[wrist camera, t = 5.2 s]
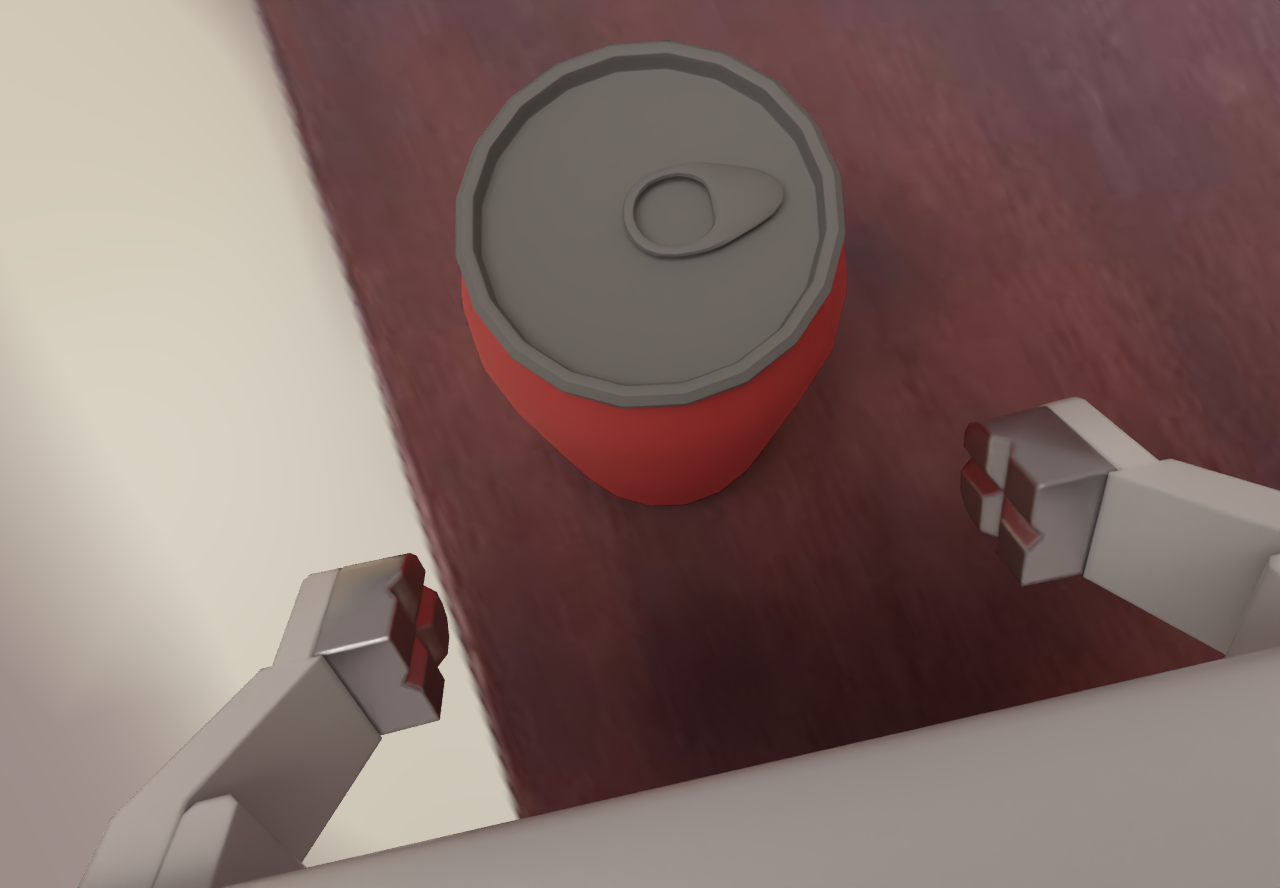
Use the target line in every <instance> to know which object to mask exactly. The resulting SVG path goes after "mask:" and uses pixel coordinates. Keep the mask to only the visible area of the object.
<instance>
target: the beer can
mask: <svg viewBox="0 0 1280 888" xmlns="http://www.w3.org/2000/svg"><path fill="white" fill-rule="evenodd" d="M845 234H846V233H845V222H844V211H843V199H842V188H841V176H840V173H839V171H838V169H837V167H836V165H835V162H834V160H833V158H832V156H831V154H830V151H829V149H828V147H827V145H826V143H825V140H824V138H823V136H822V134H821V131H820V129H819V127H818V125H817V123H816V122H815V121H814V120H813V119H812V118H811V116H810V115H809V114H808V113H807V112H806V111H805V110H804V109H803V108H802V107H801V106H800V105H799V104H798V103H797V101H796V100H795V99H794V98H793V97H792V96H791V95H790V94H789V93H788V92H787V91H786V90H785V89H784V87H783V86H782V85H781V84H780V83H779V82H778V81H777V80H775V79H773V78H771V77H769V76H768V75H766V74H764V73H762V72H760V71H759V70H757V69H755V68H753V67H752V66H750V65H748V64H746V63H744V62H743V61H741V60H739V59H737V58H735V57H734V56H732V55H730V54H728V53H726V52H721V51H717V50H712V49H708V48H703V47H699V46H694V45H689V44H685V43H680V42H676V41H671V40H664V41H650V42H636V43H621V44H610V45H607V46H605V47H602V48H599V49H596V50H594V51H591V52H588V53H585V54H583V55H580V56H577V57H574V58H572V59H569V60H566V61H564V62H561V63H558V64H555V65H554V66H553V67H551V68H550V69H549V70H547V71H546V72H545V73H543V74H542V75H541V76H539V77H538V78H536V79H535V80H534V81H532V82H531V83H530V84H528V85H527V86H526V87H524V88H523V89H522V90H520V91H519V92H518V93H516V94H515V95H513V96H512V97H511V98H509V99H508V101H507V102H506V103H505V105H504V106H503V107H502V109H501V110H500V111H499V113H498V114H497V115H496V117H495V118H494V119H493V121H492V122H491V123H490V125H489V126H488V128H487V129H486V130H485V132H484V133H483V134H482V136H481V137H480V138H479V140H478V141H477V142H476V144H475V145H474V148H473V151H472V154H471V157H470V160H469V162H468V165H467V168H466V171H465V174H464V177H463V180H462V183H461V186H460V189H459V192H458V195H457V197H456V258H457V261H458V264H459V267H460V270H461V273H462V301H463V306H464V311H465V315H466V318H467V321H468V324H469V327H470V330H471V333H472V335H473V338H474V341H475V344H476V347H477V350H478V353H479V356H480V359H481V362H482V365H483V368H484V369H485V371H486V372H487V373H488V375H489V376H490V377H491V379H492V380H493V381H494V382H495V384H496V385H497V386H498V388H499V389H500V390H501V391H502V393H503V394H504V395H505V397H506V398H507V399H508V401H509V402H510V403H511V404H512V406H513V407H514V408H515V410H516V411H517V412H518V414H519V415H520V416H521V417H522V418H524V419H525V420H526V421H527V422H528V423H529V424H530V425H531V426H532V427H533V428H534V429H536V430H537V431H538V432H539V433H540V434H541V435H542V436H543V437H544V438H545V439H546V440H547V441H549V442H550V443H551V444H552V445H553V446H554V447H555V448H556V449H557V450H558V451H559V452H561V453H562V454H563V455H564V456H565V457H566V458H567V459H568V460H569V461H570V462H571V463H572V464H574V465H575V466H576V467H577V468H578V469H579V470H580V471H581V472H582V473H583V474H584V475H586V476H587V477H588V478H589V479H591V480H592V481H594V482H595V483H597V484H598V485H600V486H601V487H603V488H604V489H606V490H607V491H609V492H610V493H612V494H613V495H615V496H617V497H620V498H624V499H627V500H631V501H634V502H638V503H642V504H645V505H649V506H660V505H685V504H688V503H691V502H694V501H697V500H699V499H702V498H705V497H707V496H710V495H713V494H715V493H718V492H720V491H721V490H723V489H724V488H725V487H726V486H728V485H729V484H730V483H731V482H733V481H734V480H735V479H736V478H738V477H739V476H740V475H741V474H743V473H744V472H745V471H747V470H748V468H749V467H750V466H751V464H752V463H753V462H754V460H755V459H756V458H757V456H758V455H759V454H760V452H761V451H762V450H763V448H764V447H765V446H766V444H767V443H768V442H769V440H770V439H771V438H772V437H773V435H774V434H775V433H776V431H777V430H778V429H779V427H780V426H781V425H782V423H783V422H784V421H785V419H786V418H787V417H788V415H789V414H790V413H791V411H792V410H793V409H794V407H795V406H796V405H797V404H798V402H799V401H800V399H801V398H802V396H803V395H804V393H805V392H806V390H807V389H808V387H809V385H810V384H811V382H812V381H813V379H814V378H815V376H816V375H817V373H818V372H819V370H820V369H821V367H822V366H823V364H824V363H825V361H826V359H827V358H828V356H829V355H830V353H831V352H832V349H833V345H834V341H835V338H836V334H837V330H838V326H839V322H840V318H841V314H842V310H843V306H844V302H845V298H846V294H847V269H846V257H845V246H844V237H845Z"/></svg>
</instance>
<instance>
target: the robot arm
mask: <svg viewBox="0 0 1280 888" xmlns="http://www.w3.org/2000/svg"><path fill="white" fill-rule="evenodd" d="M964 447H965V449H966V450H967V451H968V452H969V453H970V455H971V456H972V457H971V459H970V460H969V461H968V463H967V464H966V465H965V466H964V468H963V469H962V470H961V493H962V497H963V501H964V505H965V508H966V510H967V512H968V514H969V516H970V518H971V520H972V521H973V522H974V524H975V525H976V527H977V528H978V529H979V531H981V532H983V533H985V534H987V535H990V536H992V537H994V538H997V539H998V543H997V551H996V553H997V554H998V556H999V557H1000V558H1001V560H1002V561H1003V562H1004V563H1005V565H1006V566H1007V567H1008V569H1009V570H1010V571H1011V573H1012V574H1013V575H1014V576H1015V578H1016V579H1017V580H1018V582H1019V583H1020V584H1021V585H1022V586H1026V585H1031V584H1036V583H1041V582H1046V581H1051V580H1056V579H1061V578H1065V577H1070V576H1075V575H1080V574H1084V575H1083V577H1084V578H1086V579H1088V580H1090V581H1092V582H1094V583H1095V584H1097V585H1099V586H1101V587H1103V588H1104V589H1106V590H1108V591H1110V592H1112V593H1114V594H1115V595H1117V596H1119V597H1121V598H1123V599H1125V600H1126V601H1128V602H1130V603H1132V604H1134V605H1135V606H1137V607H1139V608H1141V609H1143V610H1145V611H1146V612H1148V613H1150V614H1152V615H1154V616H1156V617H1157V618H1159V619H1161V620H1163V621H1165V622H1166V623H1168V624H1170V625H1172V626H1174V627H1176V628H1177V629H1179V630H1181V631H1183V632H1185V633H1187V634H1188V635H1190V636H1192V637H1194V638H1196V639H1197V640H1199V641H1201V642H1203V643H1205V644H1207V645H1208V646H1210V647H1212V648H1214V649H1216V650H1217V651H1219V652H1221V653H1223V654H1225V657H1224V659H1220V660H1216V661H1211V662H1207V663H1203V664H1198V665H1194V666H1189V667H1185V668H1181V669H1176V670H1172V671H1167V672H1163V673H1159V674H1154V675H1150V676H1146V677H1141V678H1137V679H1132V680H1128V681H1124V682H1119V683H1115V684H1110V685H1106V686H1102V687H1097V688H1093V689H1088V690H1084V691H1080V692H1075V693H1071V694H1067V695H1062V696H1058V697H1053V698H1049V699H1045V700H1040V701H1036V702H1032V703H1027V704H1023V705H1019V706H1014V707H1010V708H1006V709H1001V710H997V711H992V712H988V713H984V714H979V715H975V716H971V717H966V718H962V719H958V720H953V721H949V722H945V723H940V724H936V725H932V726H927V727H923V728H918V729H914V730H910V731H905V732H901V733H897V734H892V735H888V736H884V737H879V738H875V739H871V740H866V741H862V742H857V743H853V744H849V745H844V746H840V747H835V748H831V749H827V750H822V751H818V752H813V753H809V754H805V755H800V756H796V757H791V758H787V759H783V760H778V761H774V762H769V763H765V764H761V765H756V766H752V767H747V768H743V769H739V770H734V771H730V772H725V773H721V774H717V775H712V776H708V777H703V778H699V779H695V780H690V781H686V782H681V783H677V784H673V785H668V786H664V787H659V788H655V789H651V790H646V791H642V792H637V793H633V794H629V795H624V796H620V797H615V798H611V799H607V800H602V801H598V802H593V803H589V804H585V805H580V806H576V807H572V808H567V809H563V810H558V811H554V812H550V813H545V814H541V815H536V816H532V817H528V818H523V819H519V820H515V821H510V822H506V823H501V824H497V825H493V826H488V827H484V828H480V829H476V830H471V831H466V832H462V833H458V834H453V835H449V836H444V837H440V838H436V839H431V840H427V841H422V842H419V843H414V844H409V845H405V846H401V847H397V848H392V849H387V850H384V851H379V852H375V853H370V854H366V855H362V856H357V857H352V858H348V859H344V860H339V861H335V862H331V863H326V864H322V865H317V866H314V867H308V868H307V867H306V866H304V865H303V864H302V861H303V860H304V858H305V857H306V855H307V854H308V852H309V850H310V849H311V847H312V846H313V844H314V843H315V841H316V840H317V838H318V837H319V835H320V834H321V832H322V830H323V829H324V827H325V826H326V824H327V822H328V821H329V820H330V818H331V817H332V815H333V813H334V812H335V810H336V809H337V807H338V806H339V804H340V803H341V801H342V800H343V798H344V796H345V795H346V793H347V792H348V790H349V789H350V787H351V786H352V784H353V783H354V781H355V779H356V778H357V776H358V775H359V773H360V772H361V770H362V768H363V767H364V766H365V764H366V762H367V761H368V759H369V758H370V756H371V755H372V753H373V752H374V750H375V749H376V747H377V745H378V744H379V742H380V741H381V739H382V738H381V736H380V735H384V734H388V733H392V732H396V731H400V730H403V729H407V728H411V727H415V726H419V725H423V724H426V723H430V722H434V721H438V720H440V713H441V706H442V697H443V689H444V681H445V680H444V678H443V676H442V674H441V673H440V671H439V669H438V666H439V664H440V663H441V662H442V661H443V659H444V658H445V657H446V655H447V654H448V645H449V631H448V622H447V616H446V613H445V610H444V607H443V604H442V602H441V600H440V598H439V596H438V594H437V592H436V591H433V590H432V589H430V588H428V587H426V586H424V585H423V584H424V578H425V569H424V568H423V566H422V564H421V563H420V561H419V559H418V557H417V556H416V555H413V554H411V553H407V554H403V555H398V556H393V557H388V558H383V559H379V560H374V561H369V562H364V563H360V564H355V565H350V566H345V567H343V568H338V569H334V570H329V571H324V572H320V573H315V574H311V575H309V576H308V577H307V578H306V579H305V580H304V581H303V582H302V585H301V587H300V590H299V593H298V596H297V598H296V601H295V604H294V607H293V610H292V612H291V616H290V618H289V621H288V623H287V626H286V629H285V632H284V635H283V638H282V641H281V643H280V646H279V648H278V651H277V654H276V657H275V660H274V663H273V665H272V666H271V667H267V668H263V669H261V670H260V671H259V672H258V673H257V674H256V675H255V676H254V677H253V678H252V679H251V680H250V681H249V682H248V683H247V684H246V685H245V686H244V687H243V688H242V689H241V690H240V691H239V692H238V693H237V694H236V695H235V696H234V697H233V698H232V699H231V700H230V701H229V702H228V703H227V704H226V705H225V706H224V707H223V708H222V709H221V710H220V711H219V712H218V713H217V714H216V715H215V716H214V717H213V718H211V720H209V721H208V723H207V724H206V725H204V726H203V728H201V729H200V730H199V731H198V732H197V733H196V734H195V735H194V736H193V737H192V738H191V739H190V740H189V741H188V742H187V744H185V745H184V746H183V747H182V748H181V749H180V750H179V751H178V752H177V753H176V754H175V756H173V757H172V758H171V759H170V760H169V761H168V762H167V763H166V764H165V765H164V766H163V767H162V768H161V769H160V770H159V771H158V772H157V773H156V774H155V775H154V776H153V777H152V778H151V779H150V780H149V781H148V782H147V783H146V784H145V785H144V786H143V787H142V788H141V789H140V790H139V791H138V792H137V793H136V794H135V795H134V796H133V797H132V798H131V799H130V800H129V801H128V802H127V803H126V804H125V805H124V806H123V807H122V808H121V809H120V810H119V811H118V812H117V813H116V814H115V815H114V816H113V817H112V818H111V819H110V821H109V823H108V825H107V827H106V829H105V832H104V834H103V836H102V838H101V840H100V842H99V844H98V846H97V848H96V850H95V853H94V854H93V857H92V859H91V861H90V863H89V865H88V867H87V869H86V871H85V873H84V875H83V877H82V880H81V882H80V884H79V886H78V888H1280V491H1279V490H1275V489H1272V488H1268V487H1265V486H1262V485H1258V484H1255V483H1252V482H1248V481H1245V480H1241V479H1238V478H1235V477H1231V476H1228V475H1225V474H1221V473H1218V472H1214V471H1211V470H1208V469H1204V468H1201V467H1198V466H1194V465H1191V464H1187V463H1184V462H1181V461H1177V460H1174V459H1166V460H1162V461H1159V460H1158V459H1156V458H1155V457H1154V456H1153V455H1151V454H1150V453H1149V452H1148V451H1147V450H1145V449H1144V448H1143V447H1142V446H1141V445H1139V444H1138V443H1137V442H1136V441H1134V440H1133V439H1132V438H1131V437H1130V436H1128V435H1127V434H1126V433H1125V432H1123V431H1122V430H1121V429H1120V428H1119V427H1117V426H1116V425H1115V424H1114V423H1112V422H1111V421H1110V420H1109V419H1108V418H1106V417H1105V416H1104V415H1103V414H1102V413H1100V412H1099V411H1098V410H1097V409H1095V408H1094V407H1093V406H1092V405H1091V404H1089V403H1088V402H1087V401H1086V400H1084V399H1081V398H1078V397H1071V398H1067V399H1063V400H1059V401H1055V402H1051V403H1047V404H1043V405H1039V406H1038V407H1035V408H1030V409H1026V410H1022V411H1018V412H1013V413H1009V414H1005V415H1001V416H997V417H992V418H988V419H984V420H980V421H976V422H972V423H969V425H968V427H967V429H966V431H965V437H964Z"/></svg>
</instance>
